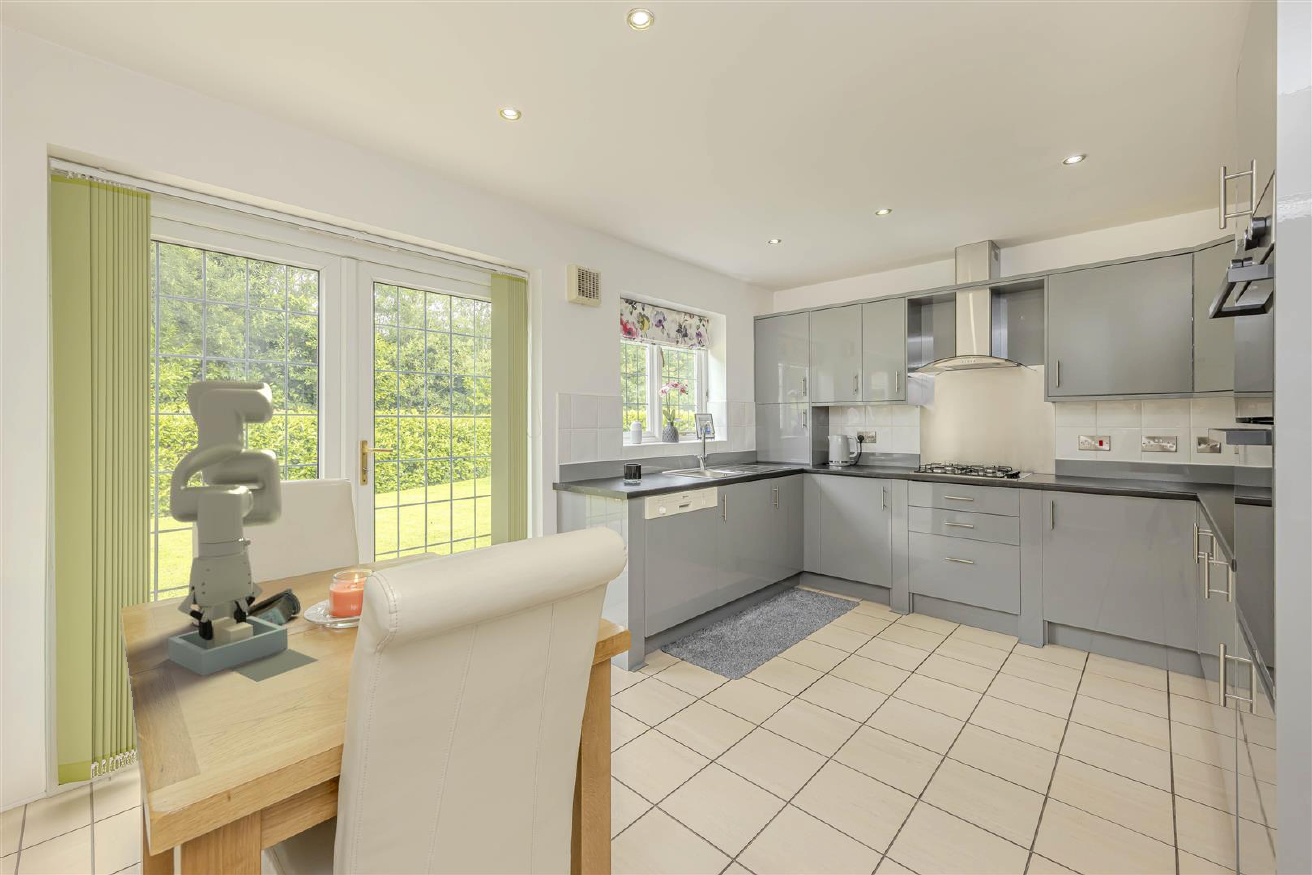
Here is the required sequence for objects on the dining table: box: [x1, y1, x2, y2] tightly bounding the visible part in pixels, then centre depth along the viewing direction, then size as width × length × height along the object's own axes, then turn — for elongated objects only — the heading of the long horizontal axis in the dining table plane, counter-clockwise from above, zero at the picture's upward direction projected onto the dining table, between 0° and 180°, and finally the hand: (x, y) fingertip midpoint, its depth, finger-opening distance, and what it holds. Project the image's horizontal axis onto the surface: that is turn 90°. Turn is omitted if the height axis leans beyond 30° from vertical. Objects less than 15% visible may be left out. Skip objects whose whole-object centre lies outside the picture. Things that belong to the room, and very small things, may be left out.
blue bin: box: [167, 616, 289, 677], centre depth 118 cm, size 15×15×4 cm
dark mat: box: [228, 648, 318, 682], centre depth 112 cm, size 11×11×1 cm
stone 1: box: [206, 617, 236, 650], centre depth 119 cm, size 4×4×6 cm
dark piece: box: [247, 588, 301, 626], centre depth 137 cm, size 10×7×12 cm
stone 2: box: [221, 622, 253, 645], centre depth 116 cm, size 4×4×6 cm
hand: (223, 633), depth 119 cm, fingers open, 5 cm apart
